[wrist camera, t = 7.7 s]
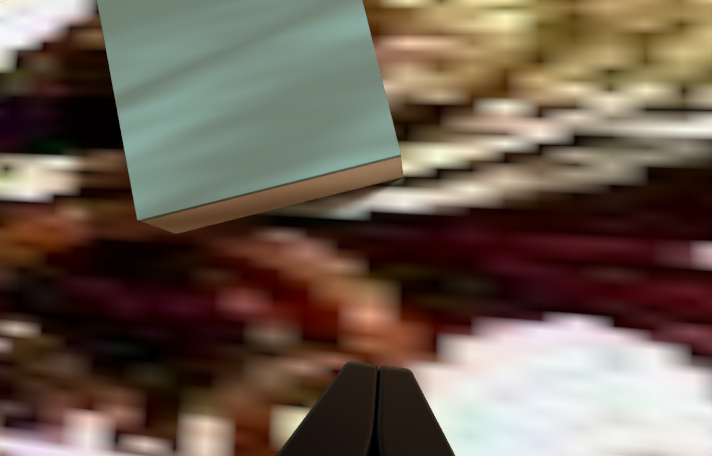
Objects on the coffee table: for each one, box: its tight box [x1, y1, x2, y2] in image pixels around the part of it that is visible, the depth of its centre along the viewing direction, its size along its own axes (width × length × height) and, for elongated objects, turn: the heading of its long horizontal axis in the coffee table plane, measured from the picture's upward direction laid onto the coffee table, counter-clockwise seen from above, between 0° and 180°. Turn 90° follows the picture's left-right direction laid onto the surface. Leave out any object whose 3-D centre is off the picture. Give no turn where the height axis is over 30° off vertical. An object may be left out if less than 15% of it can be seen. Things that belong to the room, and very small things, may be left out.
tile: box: [97, 0, 403, 234], centre depth 22 cm, size 4×8×9 cm
